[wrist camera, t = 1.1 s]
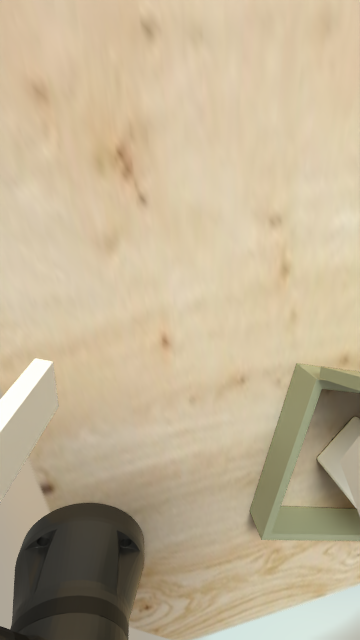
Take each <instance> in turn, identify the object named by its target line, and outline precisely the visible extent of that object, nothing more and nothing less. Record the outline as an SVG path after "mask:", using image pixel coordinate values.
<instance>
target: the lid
mask: <svg viewBox="0 0 360 640" xmlns="http://www.w3.org/2000/svg"><path fill="white" fill-rule="evenodd" d="M319 378H321V379H324V380H327V381H330V382H333V383H336V384H339V385H342V386H345V387H349V388H352V389H355V390H358V391H360V372H358V371H350V370H343V369H336V368H329V367H321V369H320V376H319Z"/></svg>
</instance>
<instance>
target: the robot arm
mask: <svg viewBox="0 0 360 640" xmlns="http://www.w3.org/2000/svg"><path fill="white" fill-rule="evenodd" d="M58 407H59V404H58V396H57V389H56V381H55V373H54V365H53V362H52V361H46V360H41V359H36V358H35V359H34V360H33V362H32V363H31V364H30V365H29V366H28V367H27V369H26V370H25V371H24V372H23V373H22V375H21V376H20V377H19V378H18V379H17V381H16V382H15V383H14V384H13V385H12V386H11V388H10V389H9V390H8V391H7V392H6V394H5V395H4V396H3V397H2V398H1V400H0V503H1V501H2V499H3V498H4V496H5V494H6V493H7V491H8V489H9V488H10V486H11V484H12V482H13V481H14V479H15V478H16V476H17V474H18V473H19V471H20V470H21V468H22V466H23V465H24V463H25V461H26V460H27V458H28V456H29V455H30V453H31V451H32V450H33V448H34V446H35V445H36V443H37V441H38V440H39V438H40V436H41V435H42V433H43V431H44V430H45V428H46V427H47V425H48V423H49V422H50V420H51V418H52V417H53V415H54V413H55V412H56V410H57V408H58ZM340 463H341V466H342V469H343V472H344V474H345V477H346V480H347V483H348V485H349V488H350V491H351V494H352V496H353V499H354V502H355V505H356V507H357V510H358V513H359V516H360V436H359V437H358V438H357V439H356V441H355V442H354V443H353V445H352V446H351V447H350V449H349V450H348V451H347V452H346V454H345V455H344V456H343V458H342V459H341V460H340ZM143 565H144V538H143V534H142V531H141V529H140V527H139V526H138V524H137V523H136V522H135V521H134V520H133V519H132V518H131V517H130V516H129V515H127V514H126V513H124V512H123V511H121V510H119V509H116V508H114V507H111V506H107V505H102V504H92V503H86V504H76V505H70V506H66V507H63V508H60V509H57V510H55V511H53V512H51V513H49V514H47V515H46V516H44V517H43V518H41V519H40V520H39V521H38V522H36V523H35V524H34V525H33V526H32V528H31V529H30V530H29V532H28V533H27V535H26V537H25V539H24V541H23V544H22V547H21V550H20V552H19V555H18V558H17V561H16V567H15V581H14V599H13V617H12V626H11V629H10V630H9V629H7V628H4V627H1V626H0V640H128V629H129V618H130V614H131V610H132V607H133V603H134V600H135V596H136V592H137V589H138V585H139V581H140V578H141V574H142V570H143Z"/></svg>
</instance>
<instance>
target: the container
mask: <svg viewBox="0 0 360 640" xmlns="http://www.w3.org/2000/svg"><path fill="white" fill-rule="evenodd" d="M359 436H360V419H359V418H358V417H353V418H352V419H351V420H350V421H349V422H348V423H347V425H346V426H345V427H344V428H343V429H342V430H341V431H340V432H339V434H338V435H337V436H336V437H335V438H334V439H333V440H332V441H331V443H330V444H329V445H328V446H327V447H326V448H325V449H324V450H323V452H322V453H321V454H320V455H319V456H318V457H317V460H318V462H319V463H320V464H321V465H322V466H323V468H324V469H325V470H326V471H327V473H328V474H329V475H330V476H331V478H332V479H333V480H334V481H335V483H336V484H337V485H338V486H339V488H340V489H341V490H342V491H343V493H344V494H345V495H346V496H347V498H348V499H349V500H350V501H351V503H352V504H353V505H354V506H355V508H357V507H356V505H355V502H354V499H353V496H352V494H351V491H350V488H349V485H348V483H347V480H346V477H345V474H344V472H343V469H342V466H341V463H340V460H341V459H342V458H343V456H344V455H345V454H346V452H347V451H348V450H349V449H350V447H351V446H352V445H353V443H354V442H355V441H356V439H357V438H358V437H359Z"/></svg>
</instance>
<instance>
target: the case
mask: <svg viewBox="0 0 360 640" xmlns="http://www.w3.org/2000/svg"><path fill="white" fill-rule="evenodd" d="M320 369H321V367H320V366H313V365H305V364H298V363H297V364H296V367H295V370H294V374H293V377H292V380H291V383H290V386H289V389H288V392H287V396H286V399H285V402H284V405H283V408H282V411H281V414H280V417H279V421H278V424H277V427H276V430H275V433H274V436H273V439H272V442H271V446H270V449H269V452H268V455H267V458H266V461H265V464H264V468H263V471H262V474H261V477H260V480H259V483H258V486H257V489H256V493H255V496H254V499H253V502H252V505H251V508H250V513H251V515H252V518H253V520H254V523H255V525H256V528H257V530H258V532H259V535H260V537H261V540H312V541H360V516H359V513H358V510H357V509H348V508H320V507H293V506H281V504H282V501H283V498H284V496H285V493H286V490H287V487H288V484H289V481H290V478H291V476H292V473H293V470H294V467H295V464H296V461H297V459H298V456H299V453H300V450H301V447H302V444H303V441H304V439H305V436H306V433H307V430H308V427H309V424H310V421H311V419H312V416H313V413H314V410H315V407H316V404H317V402H318V399H319V396H320V393H321V390H322V389H329V390H337V391H345V392H353V393H360V391H358V390H355V389H352V388H349V387H345V386H342V385H339V384H336V383H333V382H330V381H327V380H324V379H321V378H319V376H320Z"/></svg>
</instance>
